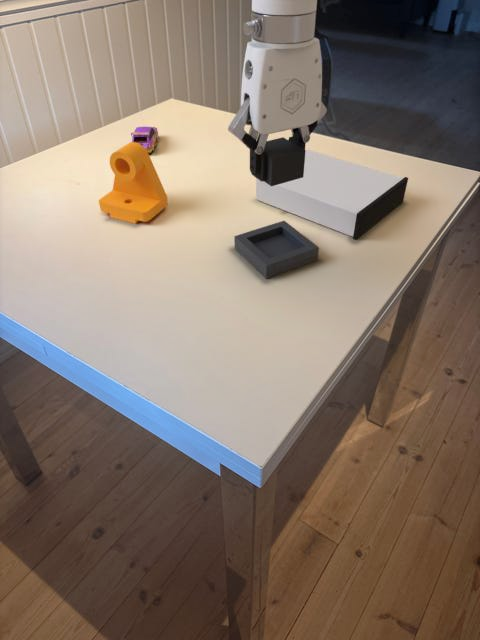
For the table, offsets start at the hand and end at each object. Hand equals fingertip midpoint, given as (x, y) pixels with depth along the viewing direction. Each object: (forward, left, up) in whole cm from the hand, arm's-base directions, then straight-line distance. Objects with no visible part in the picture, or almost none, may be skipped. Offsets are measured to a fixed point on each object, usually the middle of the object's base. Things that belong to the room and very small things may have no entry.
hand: (277, 171), depth 70 cm
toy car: (0, -56, -15) cm, 58 cm away
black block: (0, 0, 0) cm, 0 cm away
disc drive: (-20, -11, -15) cm, 28 cm away
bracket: (+14, -27, -15) cm, 34 cm away
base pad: (-1, -1, -15) cm, 15 cm away
